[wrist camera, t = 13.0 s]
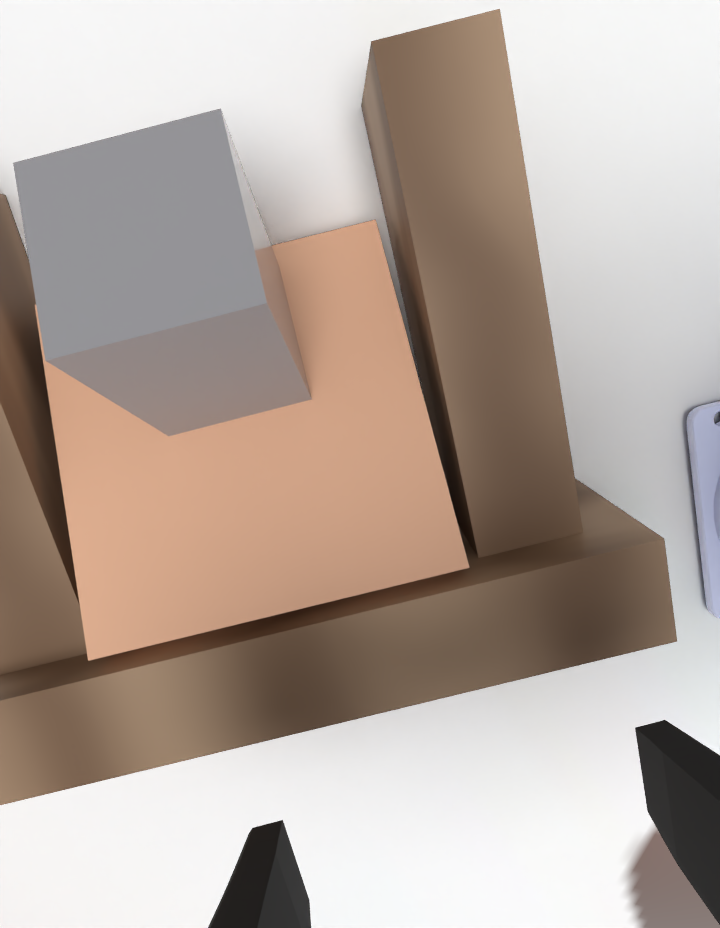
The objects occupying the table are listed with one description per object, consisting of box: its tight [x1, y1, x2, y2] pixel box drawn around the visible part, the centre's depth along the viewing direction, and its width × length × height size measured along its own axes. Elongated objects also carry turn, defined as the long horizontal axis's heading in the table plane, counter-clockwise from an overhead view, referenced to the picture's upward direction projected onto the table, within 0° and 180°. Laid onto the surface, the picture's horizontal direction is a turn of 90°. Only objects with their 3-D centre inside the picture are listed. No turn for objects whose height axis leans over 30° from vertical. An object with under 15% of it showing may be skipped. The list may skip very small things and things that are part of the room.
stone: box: [13, 109, 312, 436], centre depth 14 cm, size 4×4×6 cm
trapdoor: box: [35, 220, 469, 661], centre depth 17 cm, size 10×10×1 cm
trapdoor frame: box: [0, 9, 677, 805], centre depth 17 cm, size 20×16×6 cm
